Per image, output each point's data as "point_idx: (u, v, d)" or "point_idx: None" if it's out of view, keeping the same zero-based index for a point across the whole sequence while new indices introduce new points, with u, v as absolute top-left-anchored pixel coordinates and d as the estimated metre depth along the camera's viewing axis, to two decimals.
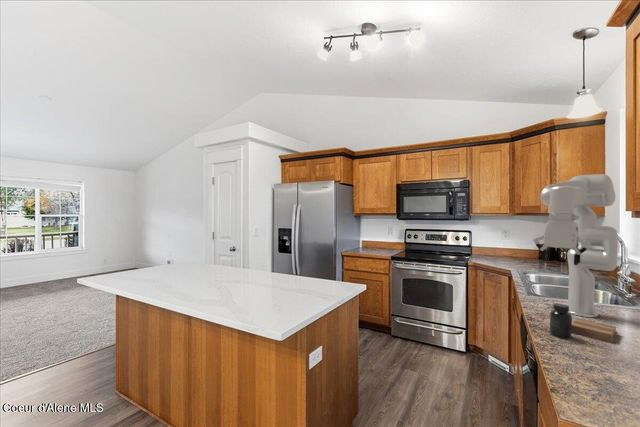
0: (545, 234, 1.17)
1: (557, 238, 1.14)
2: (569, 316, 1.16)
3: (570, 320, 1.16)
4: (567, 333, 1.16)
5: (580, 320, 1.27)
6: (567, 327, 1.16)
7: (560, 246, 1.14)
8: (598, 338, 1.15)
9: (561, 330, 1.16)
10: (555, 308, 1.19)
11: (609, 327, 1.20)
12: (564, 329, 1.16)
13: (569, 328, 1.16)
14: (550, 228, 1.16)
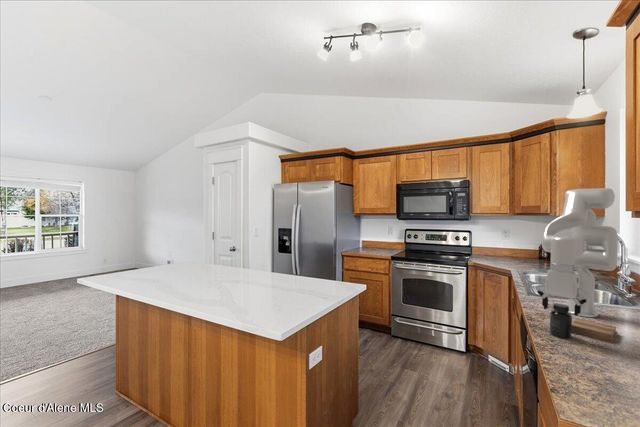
0: (546, 283, 1.20)
1: (558, 287, 1.17)
2: (569, 316, 1.16)
3: (570, 320, 1.16)
4: (567, 333, 1.16)
5: (580, 320, 1.27)
6: (567, 327, 1.16)
7: (561, 296, 1.17)
8: (598, 338, 1.15)
9: (561, 330, 1.16)
10: (555, 308, 1.19)
11: (609, 327, 1.20)
12: (564, 329, 1.16)
13: (569, 328, 1.16)
14: (551, 277, 1.19)
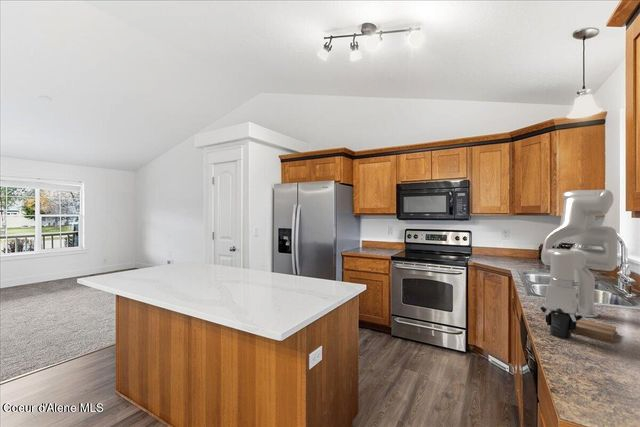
0: (546, 297, 1.21)
1: (558, 302, 1.18)
2: (569, 316, 1.16)
3: (570, 320, 1.16)
4: (567, 333, 1.16)
5: (580, 320, 1.27)
6: (567, 327, 1.16)
7: None
8: (598, 338, 1.15)
9: (561, 330, 1.16)
10: None
11: (609, 327, 1.20)
12: (564, 329, 1.16)
13: (569, 328, 1.16)
14: (551, 292, 1.19)
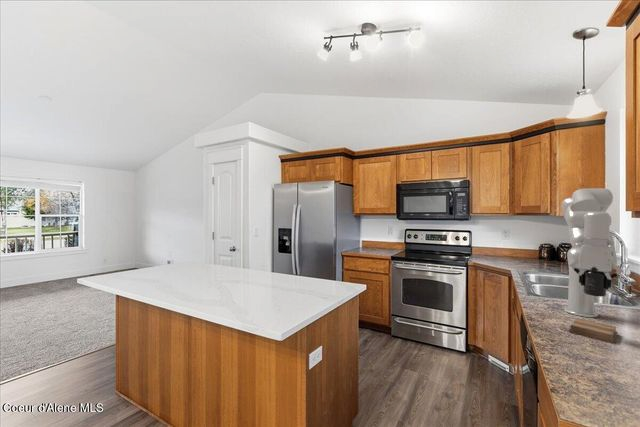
0: (580, 257, 1.23)
1: (592, 261, 1.20)
2: (604, 274, 1.18)
3: (605, 278, 1.18)
4: (602, 291, 1.18)
5: (580, 320, 1.27)
6: (602, 285, 1.18)
7: None
8: (598, 338, 1.15)
9: (596, 288, 1.18)
10: None
11: (609, 327, 1.20)
12: (599, 287, 1.18)
13: (604, 286, 1.18)
14: (585, 252, 1.21)
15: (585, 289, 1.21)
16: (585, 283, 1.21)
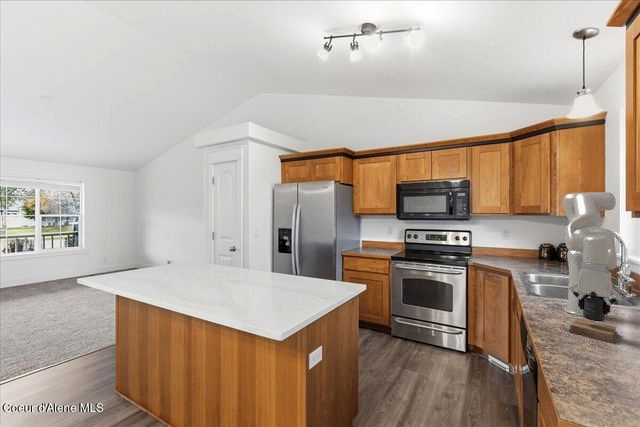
0: (579, 281, 1.23)
1: (591, 286, 1.20)
2: (603, 299, 1.18)
3: (604, 303, 1.18)
4: (602, 316, 1.18)
5: (580, 320, 1.27)
6: (601, 310, 1.18)
7: None
8: (598, 338, 1.15)
9: (595, 313, 1.18)
10: None
11: (609, 327, 1.20)
12: (598, 313, 1.18)
13: (603, 311, 1.18)
14: (584, 276, 1.22)
15: (584, 313, 1.21)
16: (584, 307, 1.21)
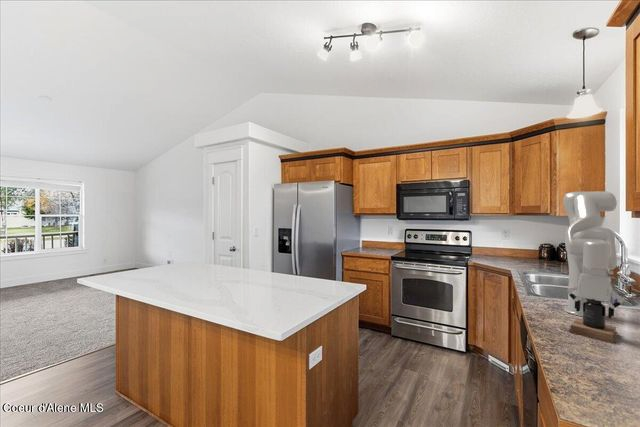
0: (579, 286, 1.23)
1: (591, 291, 1.20)
2: (603, 306, 1.18)
3: (604, 310, 1.18)
4: (601, 323, 1.18)
5: (580, 320, 1.27)
6: (601, 317, 1.18)
7: None
8: (598, 338, 1.15)
9: (595, 320, 1.18)
10: (588, 299, 1.21)
11: (609, 327, 1.20)
12: (598, 320, 1.18)
13: (603, 318, 1.18)
14: (584, 280, 1.22)
15: (584, 320, 1.22)
16: (584, 314, 1.22)
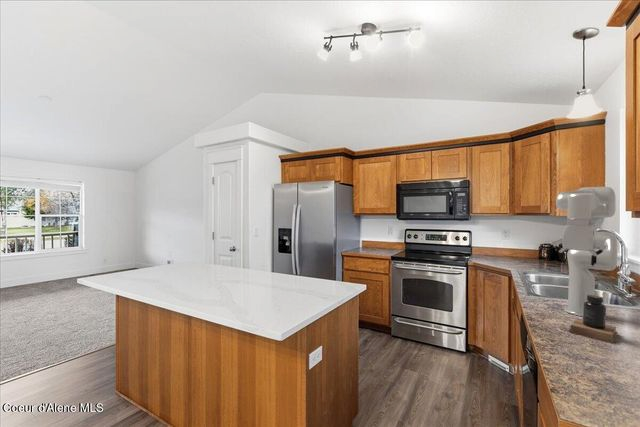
0: (564, 237, 1.28)
1: (575, 241, 1.25)
2: (603, 307, 1.18)
3: (604, 311, 1.18)
4: (602, 323, 1.18)
5: (580, 320, 1.27)
6: (601, 317, 1.18)
7: (578, 248, 1.25)
8: (598, 338, 1.15)
9: (595, 320, 1.18)
10: (589, 299, 1.21)
11: (609, 327, 1.20)
12: (598, 320, 1.18)
13: (603, 318, 1.18)
14: (568, 232, 1.27)
15: (584, 320, 1.22)
16: (584, 314, 1.22)
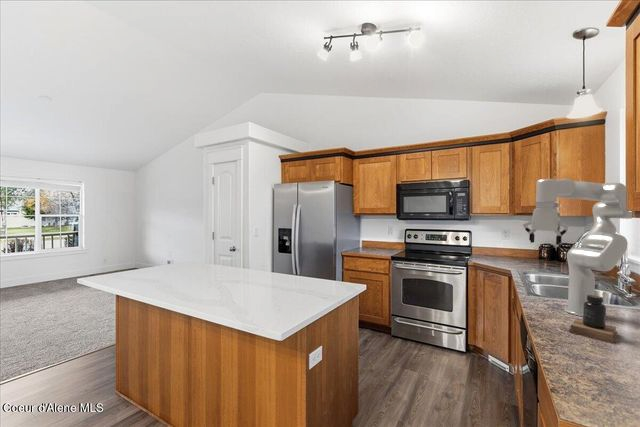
0: (532, 220, 1.39)
1: (542, 222, 1.36)
2: (603, 307, 1.18)
3: (604, 311, 1.18)
4: (602, 323, 1.18)
5: (580, 320, 1.27)
6: (601, 317, 1.18)
7: (545, 229, 1.36)
8: (598, 338, 1.15)
9: (595, 320, 1.18)
10: (589, 299, 1.21)
11: (609, 327, 1.20)
12: (598, 320, 1.18)
13: (603, 318, 1.18)
14: (536, 214, 1.38)
15: (584, 320, 1.22)
16: (584, 314, 1.22)
